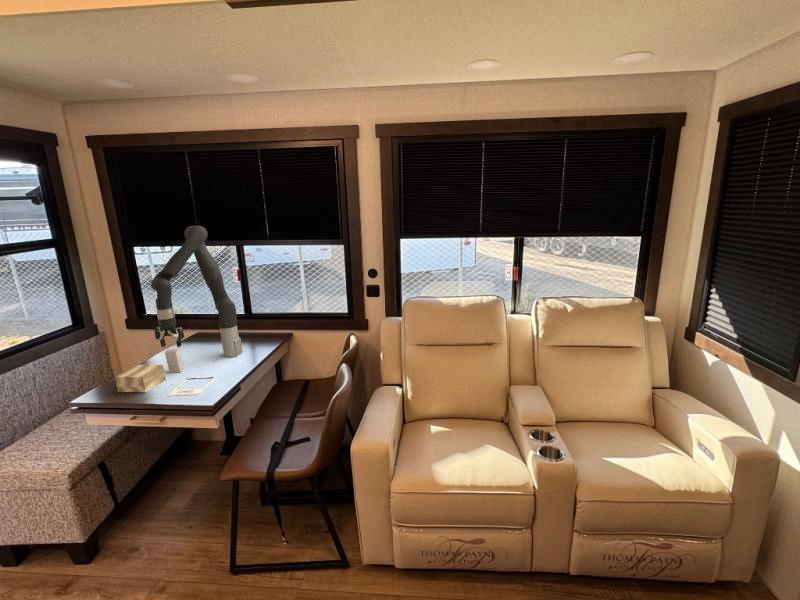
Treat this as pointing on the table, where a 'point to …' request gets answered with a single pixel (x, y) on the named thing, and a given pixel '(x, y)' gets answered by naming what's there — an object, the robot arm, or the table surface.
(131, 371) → the birch block
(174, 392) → the photo frame
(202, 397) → the table surface
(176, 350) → the skincare box
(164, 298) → the robot arm
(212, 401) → the table surface
